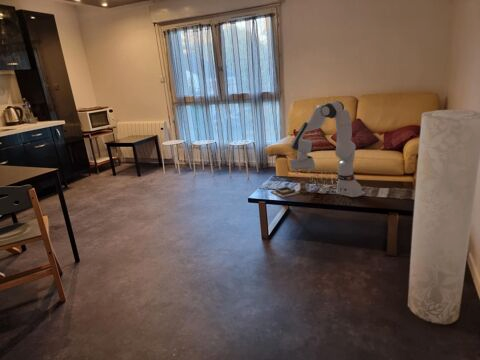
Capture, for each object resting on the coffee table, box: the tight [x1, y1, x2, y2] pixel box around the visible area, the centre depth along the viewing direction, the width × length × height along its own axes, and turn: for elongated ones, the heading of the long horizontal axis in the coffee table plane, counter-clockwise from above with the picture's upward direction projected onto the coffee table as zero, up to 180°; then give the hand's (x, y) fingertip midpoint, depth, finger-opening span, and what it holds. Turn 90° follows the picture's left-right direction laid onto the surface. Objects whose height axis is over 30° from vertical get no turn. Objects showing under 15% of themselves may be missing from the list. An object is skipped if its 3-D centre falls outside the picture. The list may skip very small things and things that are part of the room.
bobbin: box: [298, 180, 308, 194], centre depth 273 cm, size 6×6×8 cm
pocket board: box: [270, 185, 301, 199], centre depth 273 cm, size 17×17×3 cm
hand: (302, 173), depth 280 cm, fingers open, 8 cm apart
